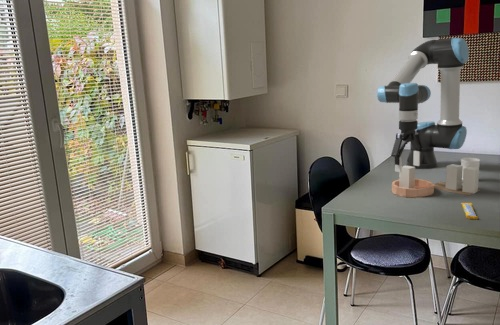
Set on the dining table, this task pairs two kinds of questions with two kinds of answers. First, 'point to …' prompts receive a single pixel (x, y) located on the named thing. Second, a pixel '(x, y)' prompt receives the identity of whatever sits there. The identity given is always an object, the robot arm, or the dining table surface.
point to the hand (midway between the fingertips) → (407, 168)
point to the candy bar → (469, 211)
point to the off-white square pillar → (470, 179)
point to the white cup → (469, 163)
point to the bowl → (420, 189)
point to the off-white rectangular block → (454, 177)
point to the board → (443, 187)
